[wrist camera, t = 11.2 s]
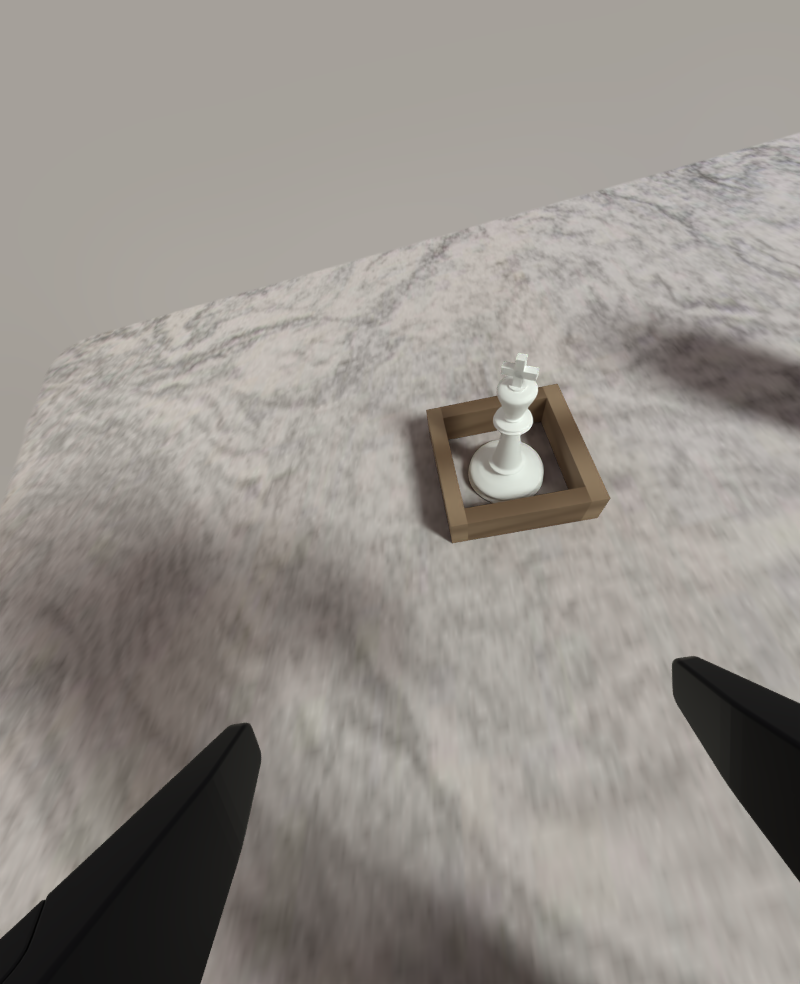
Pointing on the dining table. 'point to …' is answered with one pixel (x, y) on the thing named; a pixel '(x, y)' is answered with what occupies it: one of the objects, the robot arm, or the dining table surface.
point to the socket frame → (526, 512)
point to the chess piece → (510, 440)
